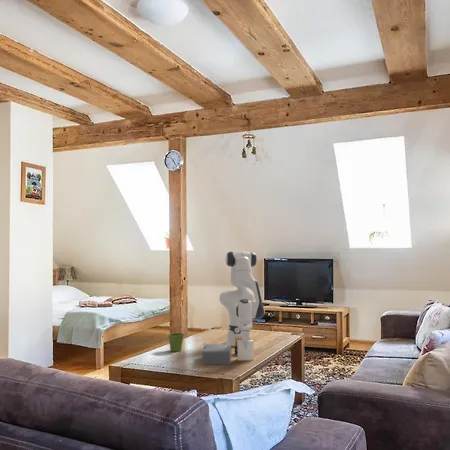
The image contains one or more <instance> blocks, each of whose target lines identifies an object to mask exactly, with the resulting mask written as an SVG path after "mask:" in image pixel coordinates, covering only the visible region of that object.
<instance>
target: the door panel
mask: <svg viewBox="0 0 450 450" xmlns="http://www.w3.org/2000/svg"><path fill="white" fill-rule="evenodd" d="M237 343H238V354H237V361H254V359H255V358H254V356H255V355H254V340H253V339H250V340H249V342H248V343H247V349H244V343H243V341H242V340H238V341H237Z"/></svg>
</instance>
